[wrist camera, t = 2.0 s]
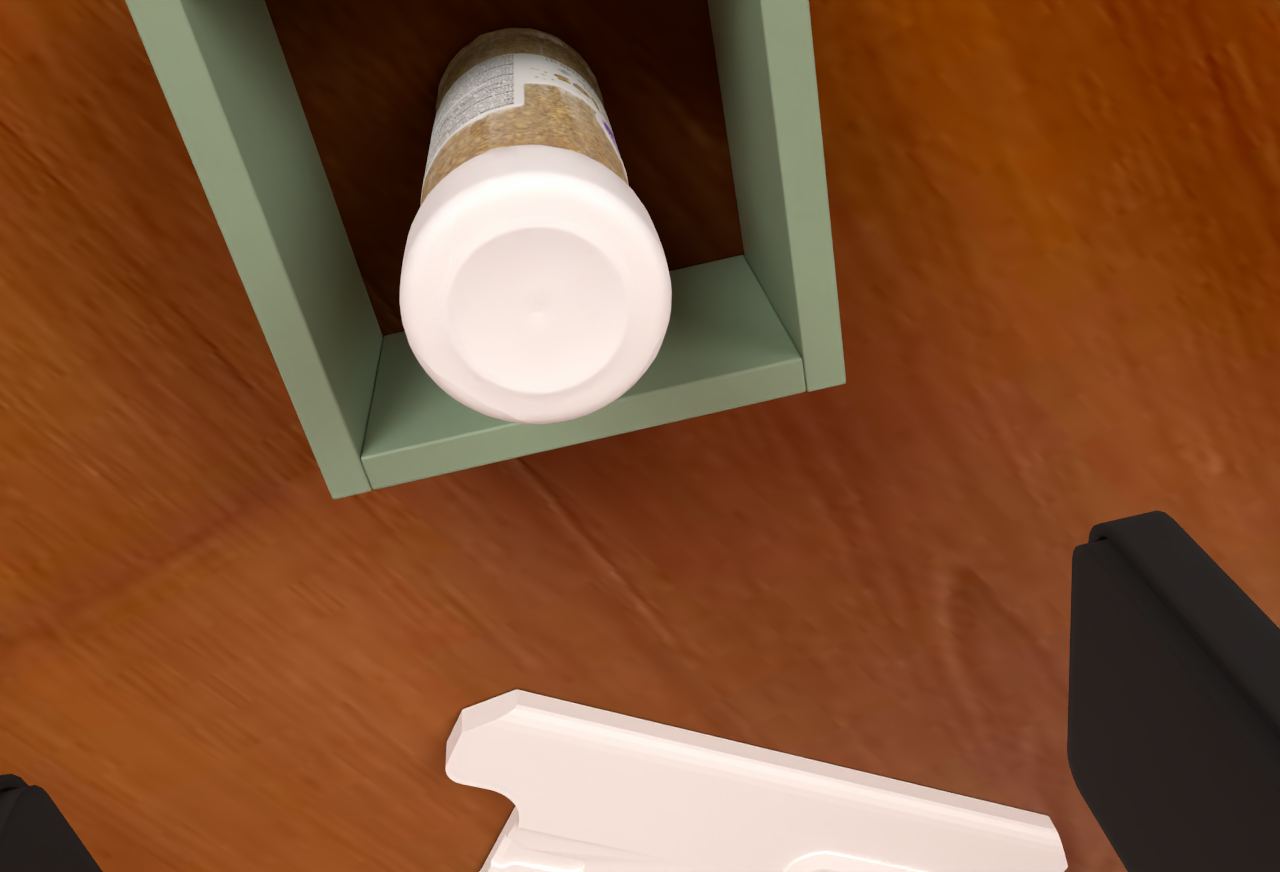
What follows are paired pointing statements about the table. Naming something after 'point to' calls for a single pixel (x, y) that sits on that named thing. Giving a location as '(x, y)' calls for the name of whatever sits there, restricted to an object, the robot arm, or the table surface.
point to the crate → (386, 366)
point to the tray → (713, 802)
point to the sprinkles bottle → (530, 240)
